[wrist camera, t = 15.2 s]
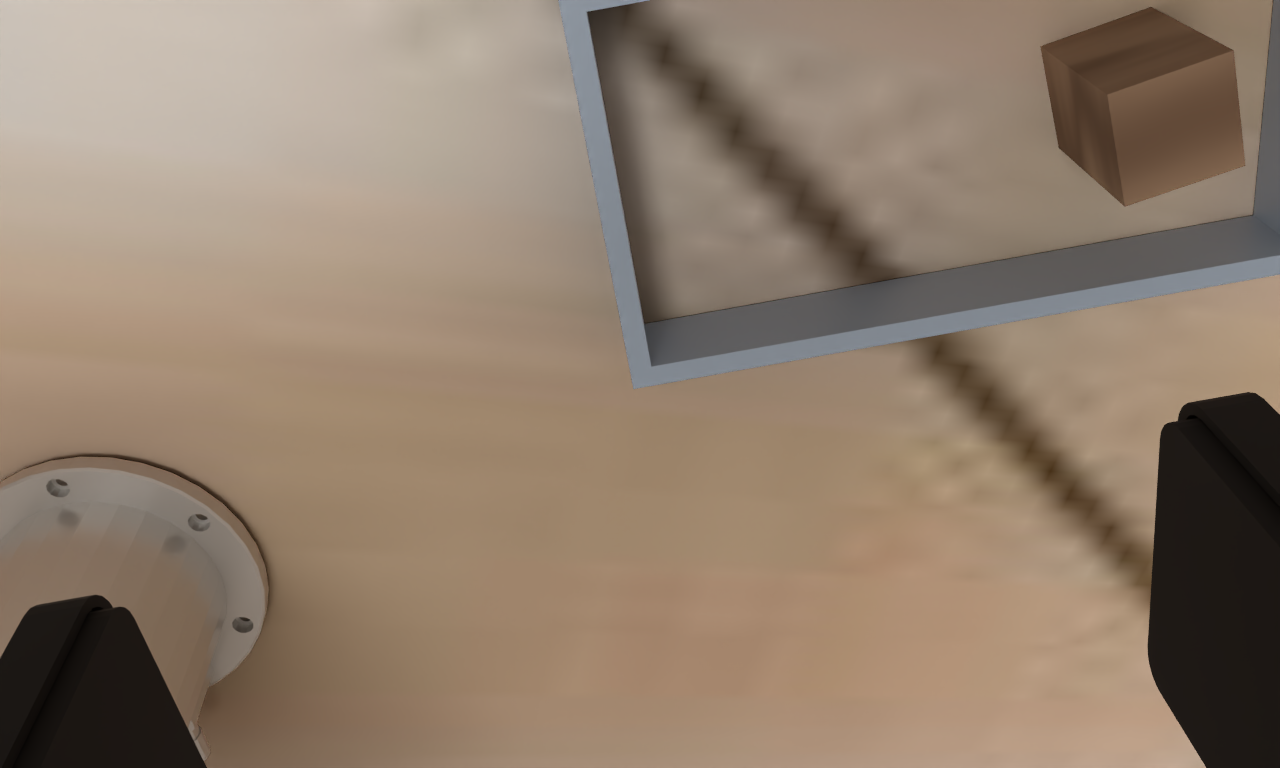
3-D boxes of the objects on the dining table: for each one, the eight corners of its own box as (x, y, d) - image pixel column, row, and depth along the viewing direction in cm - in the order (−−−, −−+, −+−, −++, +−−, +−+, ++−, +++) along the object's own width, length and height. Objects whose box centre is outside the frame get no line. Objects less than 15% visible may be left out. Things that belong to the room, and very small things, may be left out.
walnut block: (1164, 110, 45) (1245, 165, 40) (1058, 147, 46) (1124, 206, 41) (1150, 7, 43) (1233, 50, 38) (1040, 46, 44) (1107, 94, 39)
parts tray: (1271, 230, 48) (1321, 267, 45) (627, 345, 49) (633, 389, 45) (1313, -172, 41) (1375, -161, 38) (555, -32, 41) (556, -10, 38)
